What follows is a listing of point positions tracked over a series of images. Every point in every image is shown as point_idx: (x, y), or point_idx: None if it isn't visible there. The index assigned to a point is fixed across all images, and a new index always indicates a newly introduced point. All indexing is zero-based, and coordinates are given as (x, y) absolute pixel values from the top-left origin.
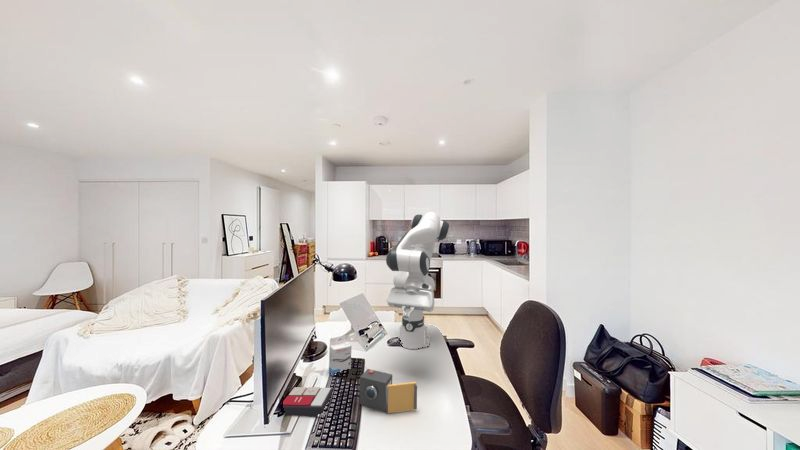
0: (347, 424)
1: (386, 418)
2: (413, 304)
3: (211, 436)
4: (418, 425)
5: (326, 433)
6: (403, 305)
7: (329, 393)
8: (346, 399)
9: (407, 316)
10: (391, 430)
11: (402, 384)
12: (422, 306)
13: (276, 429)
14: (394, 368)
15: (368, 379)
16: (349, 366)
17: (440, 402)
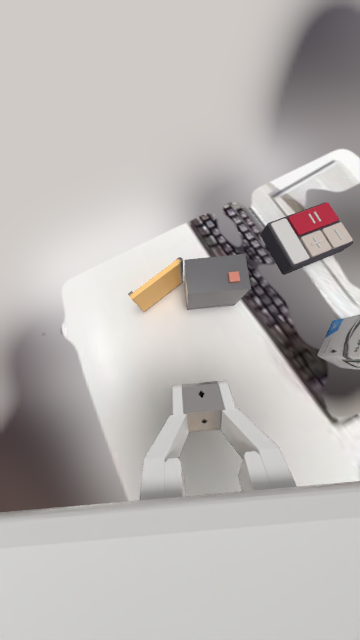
0: (219, 239)
1: None
2: (138, 523)
3: (348, 154)
4: (128, 283)
5: (232, 216)
6: (284, 488)
7: (284, 253)
8: (258, 280)
9: (185, 385)
10: (158, 258)
11: (153, 277)
12: (6, 518)
13: (293, 193)
14: None
15: (224, 256)
16: (327, 352)
17: (111, 348)
